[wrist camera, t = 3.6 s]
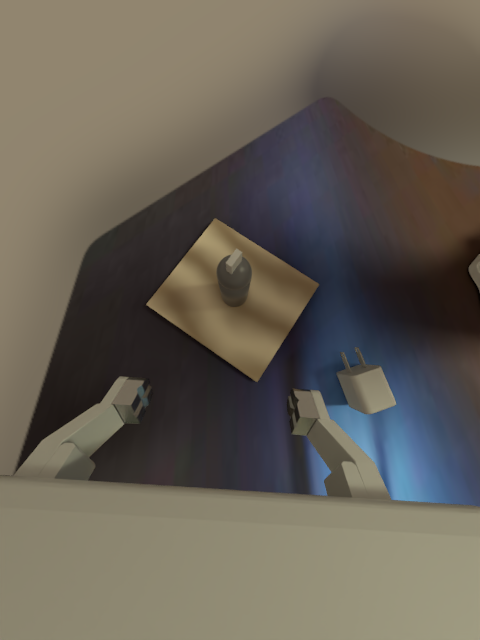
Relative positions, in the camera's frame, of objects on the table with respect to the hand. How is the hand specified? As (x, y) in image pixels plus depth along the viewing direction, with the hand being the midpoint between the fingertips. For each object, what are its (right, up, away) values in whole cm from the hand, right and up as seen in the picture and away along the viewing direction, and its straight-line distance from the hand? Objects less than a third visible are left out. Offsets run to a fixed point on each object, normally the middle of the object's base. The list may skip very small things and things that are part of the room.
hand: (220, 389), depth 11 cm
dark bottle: (0, +8, +15) cm, 17 cm away
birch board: (0, +7, +16) cm, 18 cm away
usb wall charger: (+16, -3, +15) cm, 22 cm away
